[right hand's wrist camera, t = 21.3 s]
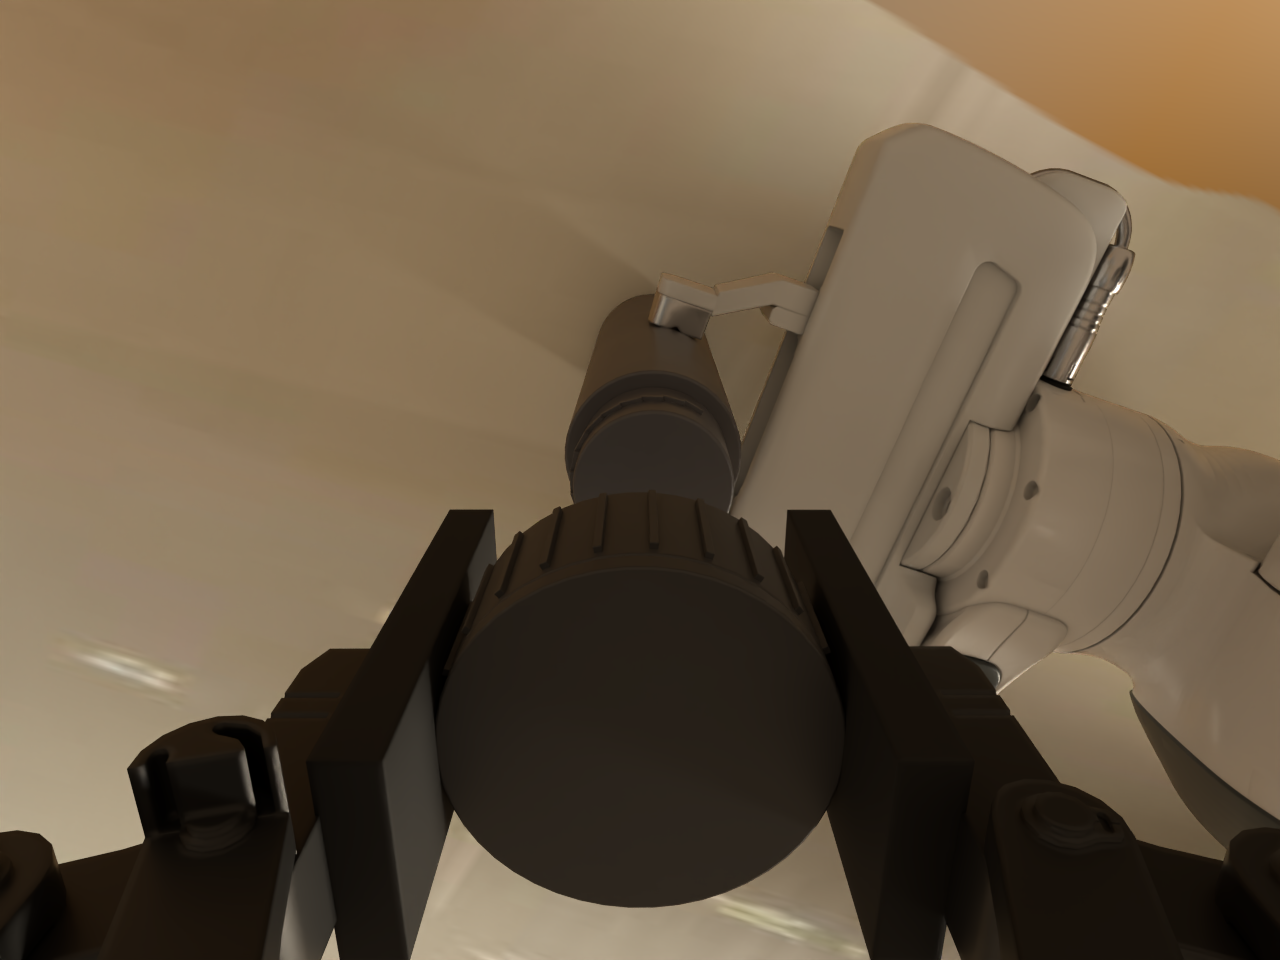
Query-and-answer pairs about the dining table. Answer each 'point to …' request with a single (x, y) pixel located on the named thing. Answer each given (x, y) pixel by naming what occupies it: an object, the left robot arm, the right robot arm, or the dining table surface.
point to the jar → (652, 415)
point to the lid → (640, 704)
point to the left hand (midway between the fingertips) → (626, 382)
